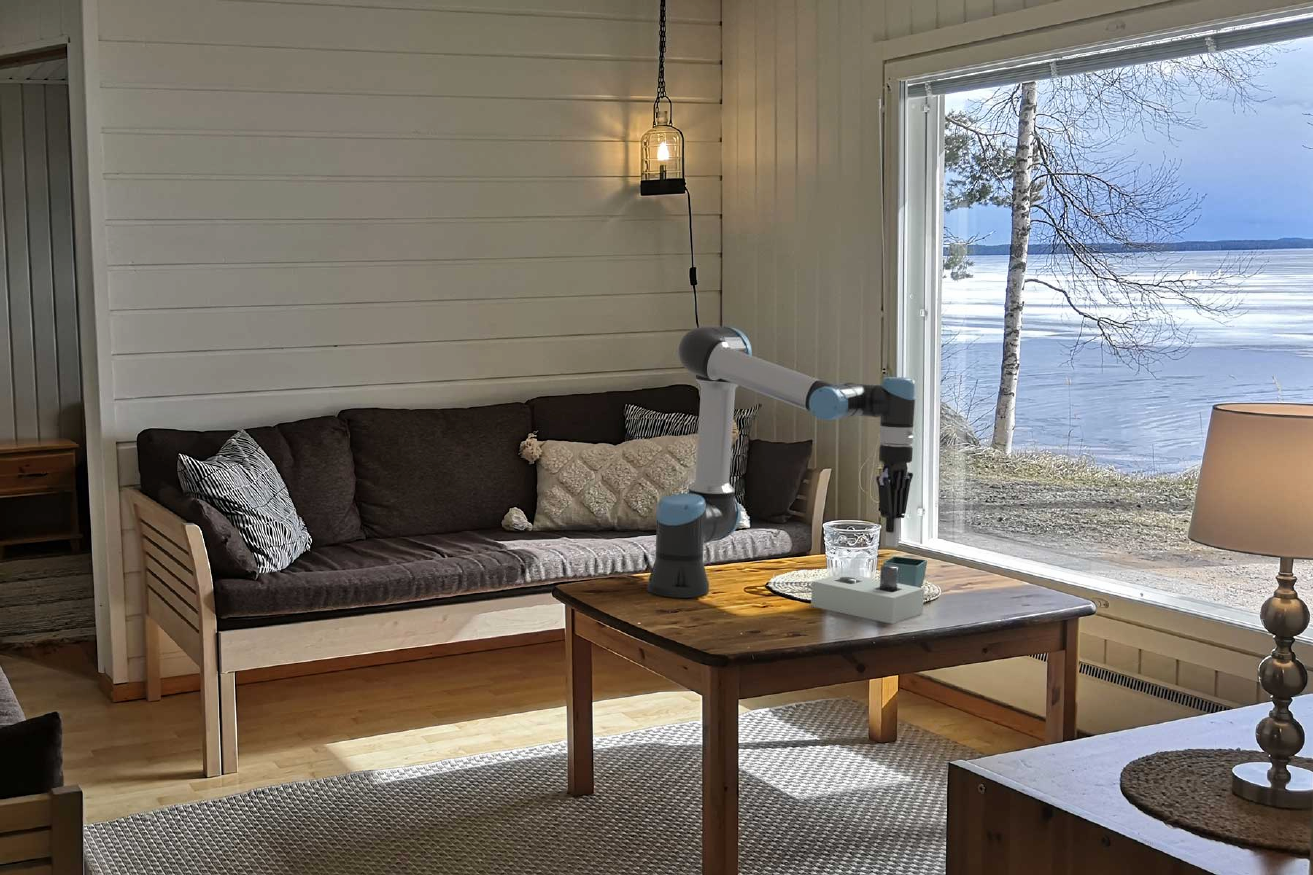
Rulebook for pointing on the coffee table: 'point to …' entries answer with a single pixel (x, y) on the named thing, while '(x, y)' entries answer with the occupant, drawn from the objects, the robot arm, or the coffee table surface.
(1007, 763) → the coffee table surface
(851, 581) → the left peg
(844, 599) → the peg block
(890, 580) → the right peg
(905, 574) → the flower pot
